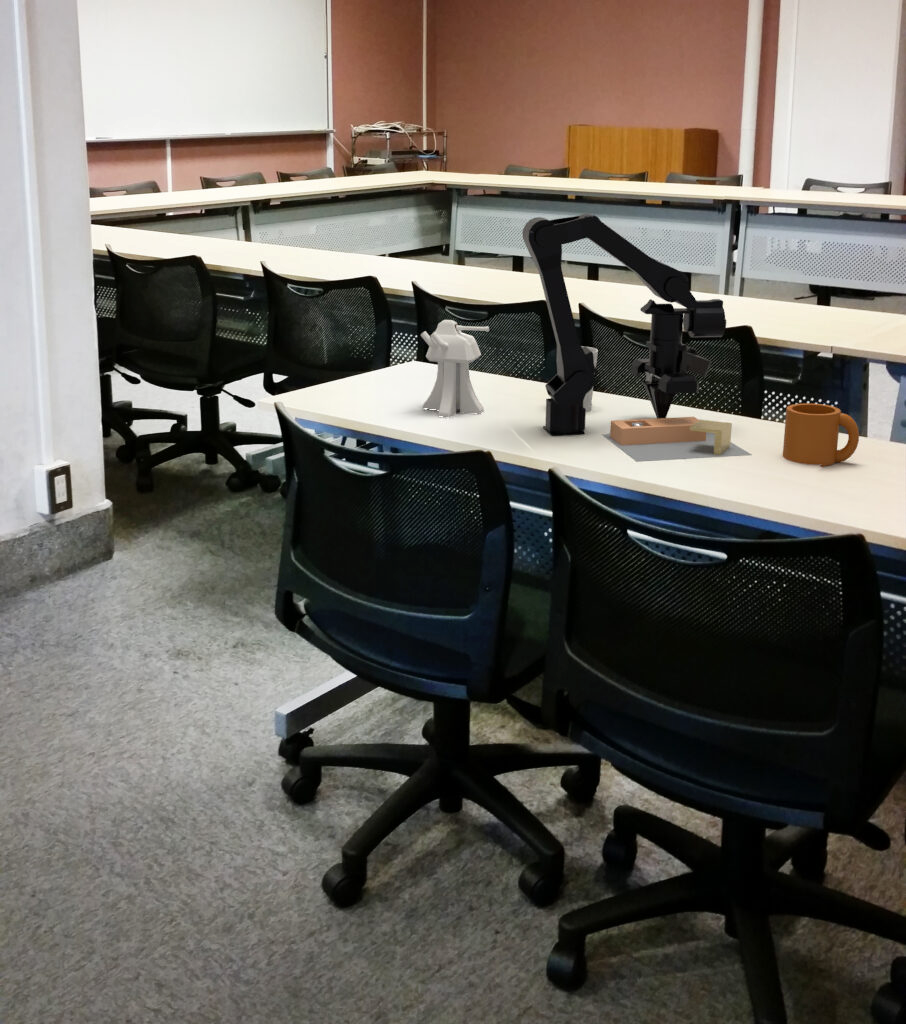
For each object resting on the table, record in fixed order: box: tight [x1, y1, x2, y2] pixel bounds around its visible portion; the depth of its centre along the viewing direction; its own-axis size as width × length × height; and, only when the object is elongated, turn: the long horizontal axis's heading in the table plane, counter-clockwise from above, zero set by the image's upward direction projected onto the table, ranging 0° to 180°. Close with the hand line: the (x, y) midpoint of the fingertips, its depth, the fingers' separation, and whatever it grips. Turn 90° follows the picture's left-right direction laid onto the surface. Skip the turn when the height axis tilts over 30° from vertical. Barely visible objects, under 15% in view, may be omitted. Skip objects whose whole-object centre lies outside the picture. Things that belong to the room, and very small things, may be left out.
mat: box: [601, 432, 753, 463], centre depth 212 cm, size 21×18×1 cm
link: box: [609, 416, 706, 445], centre depth 216 cm, size 16×6×3 cm, turn 102°
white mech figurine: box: [420, 319, 490, 418], centre depth 235 cm, size 12×13×18 cm
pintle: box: [632, 422, 643, 427], centre depth 215 cm, size 2×2×3 cm
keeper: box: [690, 419, 733, 455], centre depth 209 cm, size 6×6×4 cm
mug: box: [782, 403, 860, 467], centre depth 202 cm, size 9×12×9 cm
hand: (661, 420), depth 223 cm, fingers closed
